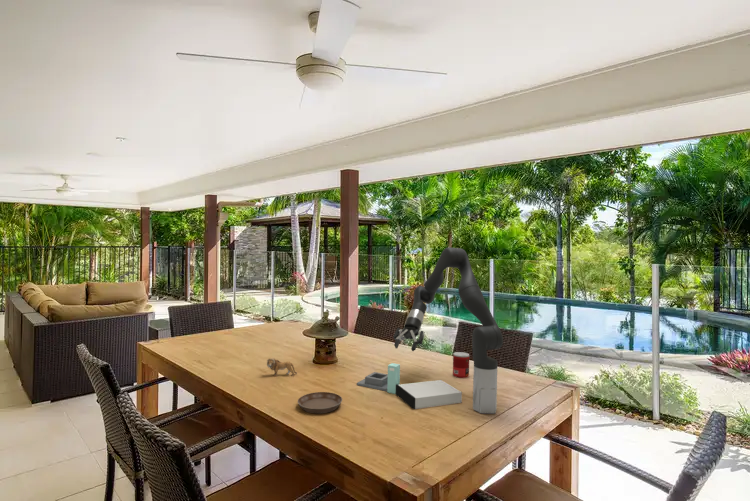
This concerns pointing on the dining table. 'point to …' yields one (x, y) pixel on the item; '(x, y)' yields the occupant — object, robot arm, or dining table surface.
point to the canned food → (461, 364)
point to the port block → (375, 381)
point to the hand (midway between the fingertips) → (404, 348)
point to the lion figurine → (280, 366)
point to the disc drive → (428, 394)
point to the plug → (393, 377)
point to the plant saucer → (319, 402)
